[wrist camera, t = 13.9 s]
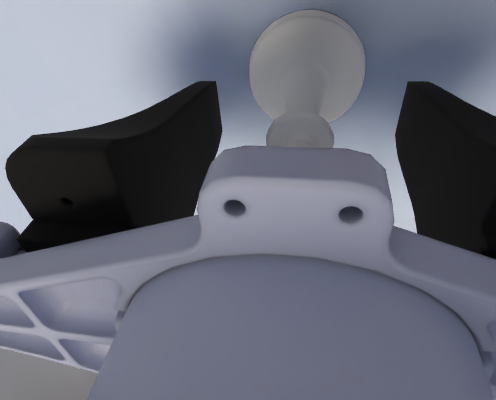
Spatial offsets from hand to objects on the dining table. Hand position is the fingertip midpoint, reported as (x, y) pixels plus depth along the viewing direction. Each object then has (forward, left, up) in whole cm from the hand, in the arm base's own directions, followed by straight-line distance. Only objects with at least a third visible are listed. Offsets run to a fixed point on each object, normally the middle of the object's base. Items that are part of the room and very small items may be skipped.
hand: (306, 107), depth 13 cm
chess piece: (0, 0, -4) cm, 4 cm away
